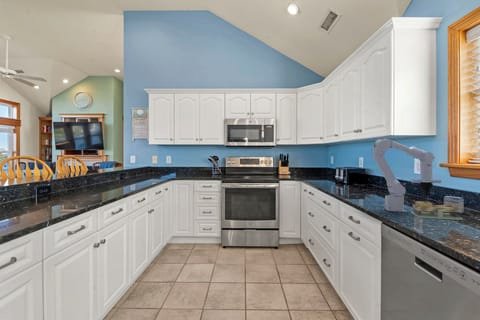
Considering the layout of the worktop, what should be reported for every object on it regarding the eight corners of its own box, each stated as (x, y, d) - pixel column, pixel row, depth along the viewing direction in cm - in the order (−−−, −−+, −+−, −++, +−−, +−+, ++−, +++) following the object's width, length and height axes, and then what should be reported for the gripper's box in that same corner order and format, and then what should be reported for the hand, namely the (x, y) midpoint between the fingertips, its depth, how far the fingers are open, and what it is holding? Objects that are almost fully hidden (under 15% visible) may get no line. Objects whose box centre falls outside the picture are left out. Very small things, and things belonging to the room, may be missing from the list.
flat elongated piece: (418, 211, 134) (418, 207, 134) (412, 207, 142) (412, 204, 142) (461, 212, 129) (461, 208, 128) (452, 208, 137) (452, 205, 137)
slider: (419, 208, 135) (419, 203, 135) (415, 206, 140) (415, 201, 140) (432, 208, 134) (432, 203, 134) (428, 207, 138) (428, 201, 138)
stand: (418, 217, 133) (418, 209, 133) (411, 213, 144) (411, 205, 143) (463, 220, 127) (463, 211, 127) (452, 214, 138) (452, 206, 138)
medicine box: (443, 210, 148) (443, 196, 147) (447, 210, 150) (447, 195, 150) (460, 213, 141) (460, 198, 140) (463, 212, 143) (464, 197, 142)
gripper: (414, 172, 146) (414, 195, 146) (444, 172, 142) (444, 196, 142) (410, 171, 153) (410, 193, 153) (438, 171, 149) (438, 194, 149)
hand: (426, 195), depth 148 cm, fingers closed
